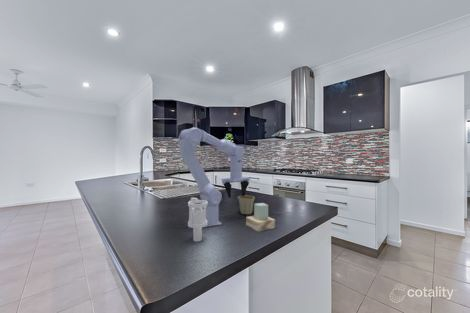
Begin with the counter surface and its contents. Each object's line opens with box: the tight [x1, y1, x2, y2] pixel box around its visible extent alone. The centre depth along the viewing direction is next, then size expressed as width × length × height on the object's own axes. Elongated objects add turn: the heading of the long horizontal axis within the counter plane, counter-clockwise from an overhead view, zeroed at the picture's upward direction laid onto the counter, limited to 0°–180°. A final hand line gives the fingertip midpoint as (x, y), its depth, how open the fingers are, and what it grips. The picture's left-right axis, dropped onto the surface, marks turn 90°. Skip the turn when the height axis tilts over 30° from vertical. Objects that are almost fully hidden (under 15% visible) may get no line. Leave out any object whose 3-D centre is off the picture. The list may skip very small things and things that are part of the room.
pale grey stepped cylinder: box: [187, 197, 208, 242], centre depth 73 cm, size 7×7×15 cm
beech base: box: [245, 215, 276, 232], centre depth 88 cm, size 9×9×4 cm
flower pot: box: [237, 194, 256, 215], centre depth 108 cm, size 9×9×9 cm
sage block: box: [253, 202, 269, 220], centre depth 88 cm, size 4×4×6 cm
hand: (236, 196), depth 100 cm, fingers open, 7 cm apart
